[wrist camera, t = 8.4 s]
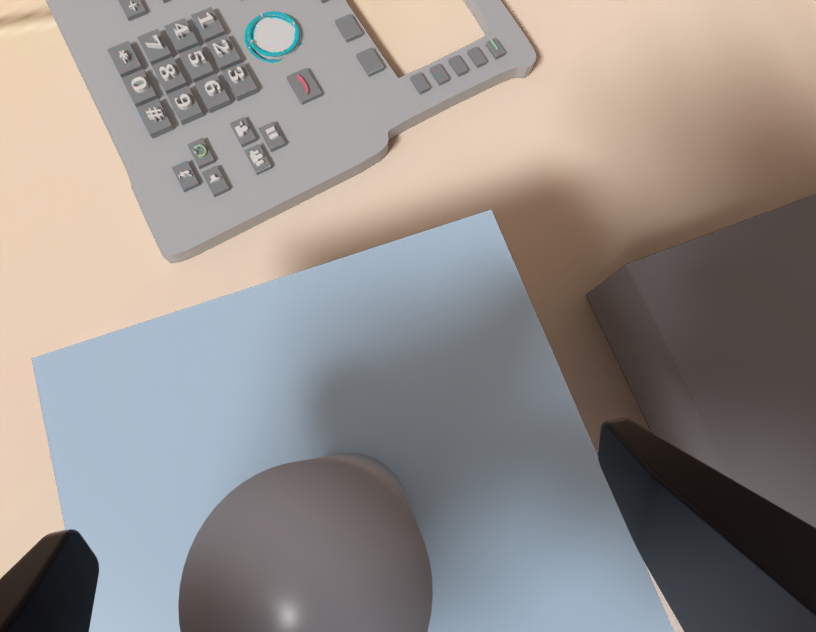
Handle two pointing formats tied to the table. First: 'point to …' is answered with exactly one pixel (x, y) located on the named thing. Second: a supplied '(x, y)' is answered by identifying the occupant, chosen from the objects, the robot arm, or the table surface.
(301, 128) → the office telephone
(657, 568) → the robot arm
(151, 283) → the table surface
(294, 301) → the square plate with knob
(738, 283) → the gray square slab
